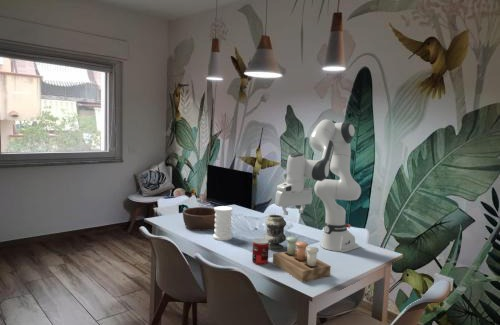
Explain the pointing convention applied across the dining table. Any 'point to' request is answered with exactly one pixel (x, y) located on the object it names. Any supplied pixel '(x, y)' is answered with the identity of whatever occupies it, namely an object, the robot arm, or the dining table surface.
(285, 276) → the dining table surface
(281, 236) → the apothecary jar
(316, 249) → the cream plunger
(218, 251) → the dining table surface
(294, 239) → the sage plunger
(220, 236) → the decorative container
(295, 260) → the walnut board
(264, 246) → the canned food
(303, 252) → the peach mushroom knob
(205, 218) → the wooden bowl
